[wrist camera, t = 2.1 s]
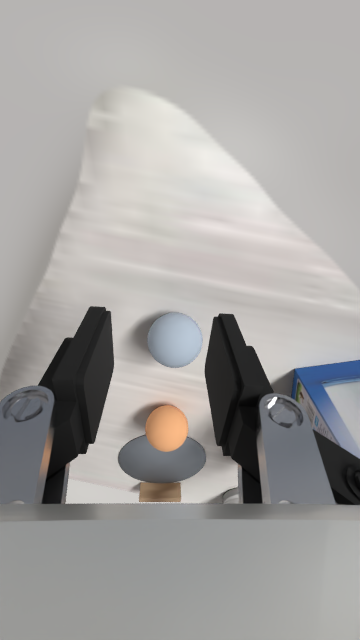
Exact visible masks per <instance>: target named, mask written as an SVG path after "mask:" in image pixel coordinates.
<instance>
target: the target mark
mask: <svg viewBox="0 0 360 640" xmlns="http://www.w3.org/2000/svg"><path fill="white" fill-rule="evenodd" d="M205 462H206V454H205V451H204V449H203V447H202V446H201V445H200V444H199V443H198V442H196V441H195V440H193V439H191V438H189V437H186V439H185V441H184V443H183V444H182V445H181V446H180V447H179V448H177V449H176V450H173V451H169V452H164V451H160V450H157V449H156V448H154V447H153V446H152V445H151V444H150V443H149V441H148V439H147V436H146V435H144V436H140V437H138V438H135V439H133V440H132V441H130V442H129V443H127V444H126V445H125V446H124V447H123V448H122V450H121V451H120V454H119V464H120V467H121V468H122V470H123V471H124V472H125V473H127V474H128V475H130V476H131V477H133V478H135V479H138V480H141V481H145V482H150V483H172V482H178V481H181V480H185V479H187V478H190V477H191V476H193V475H195V474H196V473H198V472H199V471H200V470H201V469H202V468H203V466H204V464H205Z"/></svg>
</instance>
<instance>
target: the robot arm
mask: <svg viewBox="0 0 360 640" xmlns="http://www.w3.org/2000/svg"><path fill="white" fill-rule="evenodd" d="M113 369H114V356H113V340H112V324H111V312H110V311H106V308H105V307H92V306H91V307H90V308H89V309H88V311H87V313H86V315H85V317H84V319H83V321H82V323H81V325H80V326H79V328H78V330H77V332H76V334H75V336H74V338H65V340H64V341H63V343H62V344H61V346H60V348H59V350H58V351H57V353H56V355H55V357H54V358H53V360H52V362H51V363H50V365H49V367H48V369H47V370H46V372H45V374H44V376H43V377H42V379H41V381H40V383H39V384H38V386H28V387H23V388H21V389H18V390H16V391H14V392H12V393H11V394H9V395H7V396H6V397H5V398H4V399H3V400H2V401H1V402H0V640H360V459H359V458H358V457H356V456H355V455H353V454H351V453H350V452H348V451H347V450H345V449H344V448H342V447H340V446H339V445H337V444H336V443H334V442H333V441H331V440H329V439H328V438H326V437H325V436H323V435H321V434H320V433H318V432H317V431H315V430H314V429H312V426H311V423H310V420H309V417H308V414H307V412H306V410H305V409H304V408H303V407H302V406H301V404H299V403H298V402H297V401H295V400H294V399H292V398H290V397H288V396H286V395H282V394H276V393H274V392H273V390H272V388H271V386H270V383H269V381H268V379H267V377H266V374H265V372H264V370H263V368H262V365H261V363H260V361H259V359H258V356H257V354H256V352H255V350H254V348H253V347H252V346H246V343H245V341H244V339H243V336H242V334H241V331H240V329H239V326H238V324H237V322H236V319H235V317H234V315H233V314H219V316H218V317H214V319H213V324H212V330H211V335H210V341H209V346H208V352H207V357H206V363H205V378H206V384H207V390H208V396H209V402H210V408H211V414H212V420H213V426H214V432H215V438H216V443H217V446H222V450H223V456H231V458H232V459H233V460H234V461H236V462H237V463H238V494H239V504H65V502H66V493H67V484H68V475H69V466H70V462H71V461H72V460H73V459H75V458H76V457H77V456H78V454H86V452H87V449H88V445H89V444H94V442H95V439H96V435H97V431H98V427H99V423H100V420H101V416H102V412H103V408H104V404H105V400H106V397H107V393H108V389H109V385H110V381H111V377H112V373H113Z"/></svg>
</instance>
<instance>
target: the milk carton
mask: <svg viewBox="0 0 360 640" xmlns="http://www.w3.org/2000/svg"><path fill="white" fill-rule="evenodd" d="M291 398H292V399H294V400H295V401H297V402H298V403H299V404H301V406H302V407H303V408H304V409H305V410H306V412H307V414H308V417H309V420H310V423H311V426H312V429H314V430H315V431H317V432H318V433H320V434H321V435H323V436H325V437H326V438H328V439H329V440H331V441H333V442H334V443H336V444H337V445H339V446H340V447H342V448H344V449H345V450H347V451H348V452H350V453H351V454H353V455H355V456H356V457H358V458H359V459H360V360H357V361H349V362H342V363H334V364H327V365H319V366H312V367H304V368H297V369H295V371H294V380H293V388H292V397H291Z"/></svg>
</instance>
